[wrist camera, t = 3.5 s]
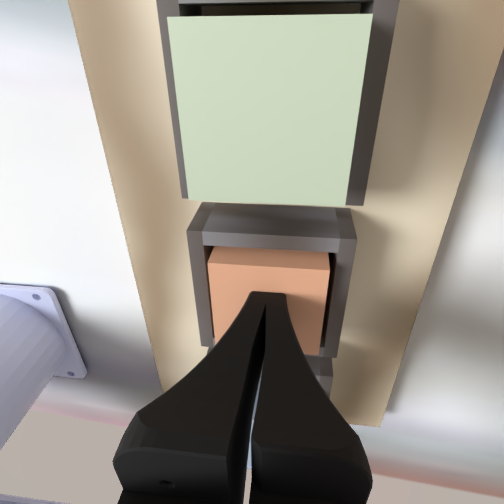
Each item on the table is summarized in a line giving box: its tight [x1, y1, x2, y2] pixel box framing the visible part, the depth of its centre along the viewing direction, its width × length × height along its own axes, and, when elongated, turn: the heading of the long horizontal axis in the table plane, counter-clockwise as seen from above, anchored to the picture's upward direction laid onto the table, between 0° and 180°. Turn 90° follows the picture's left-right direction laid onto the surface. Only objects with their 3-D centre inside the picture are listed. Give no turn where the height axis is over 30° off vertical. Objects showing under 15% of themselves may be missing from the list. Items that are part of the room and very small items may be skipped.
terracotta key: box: [208, 246, 330, 355], centre depth 15 cm, size 4×4×3 cm
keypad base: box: [68, 0, 504, 427], centre depth 16 cm, size 14×24×4 cm, turn 0°
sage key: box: [167, 14, 373, 207], centre depth 10 cm, size 4×4×3 cm
